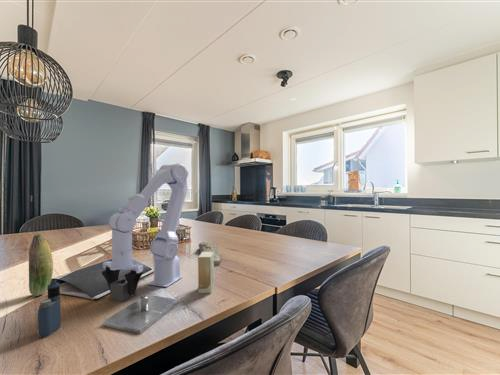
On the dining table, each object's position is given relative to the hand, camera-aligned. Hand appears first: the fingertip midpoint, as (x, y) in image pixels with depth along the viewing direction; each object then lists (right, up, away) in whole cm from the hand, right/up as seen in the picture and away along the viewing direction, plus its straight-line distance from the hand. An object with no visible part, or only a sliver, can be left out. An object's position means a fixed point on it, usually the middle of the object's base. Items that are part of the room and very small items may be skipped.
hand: (122, 292), depth 78 cm
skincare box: (+26, -1, +5) cm, 26 cm away
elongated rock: (+20, -1, +46) cm, 50 cm away
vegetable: (-28, -2, +2) cm, 28 cm away
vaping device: (-8, -2, -18) cm, 20 cm away
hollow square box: (0, -1, 0) cm, 1 cm away
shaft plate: (+11, -1, -10) cm, 15 cm away
